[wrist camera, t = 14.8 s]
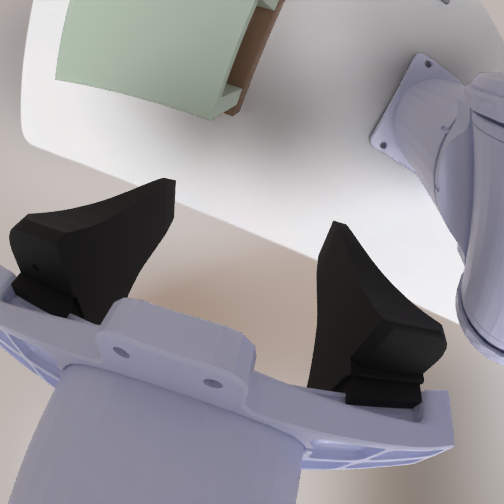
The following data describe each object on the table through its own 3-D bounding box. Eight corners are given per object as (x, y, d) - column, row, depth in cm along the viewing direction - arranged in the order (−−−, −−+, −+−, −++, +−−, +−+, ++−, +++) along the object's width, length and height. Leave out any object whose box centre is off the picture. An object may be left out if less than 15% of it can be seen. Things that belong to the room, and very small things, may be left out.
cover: (286, -17, 11) (273, -40, 7) (236, 104, 17) (210, 120, 13) (127, -35, 10) (84, -43, 7) (98, 68, 16) (55, 79, 13)
